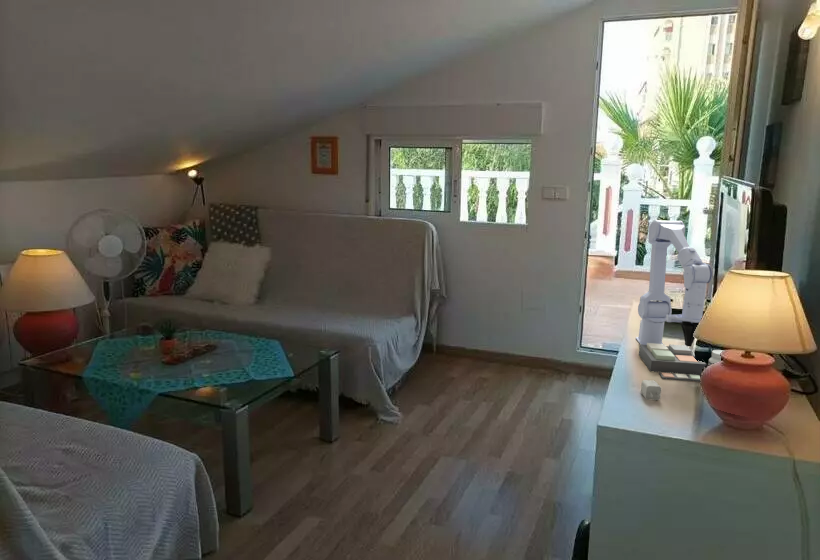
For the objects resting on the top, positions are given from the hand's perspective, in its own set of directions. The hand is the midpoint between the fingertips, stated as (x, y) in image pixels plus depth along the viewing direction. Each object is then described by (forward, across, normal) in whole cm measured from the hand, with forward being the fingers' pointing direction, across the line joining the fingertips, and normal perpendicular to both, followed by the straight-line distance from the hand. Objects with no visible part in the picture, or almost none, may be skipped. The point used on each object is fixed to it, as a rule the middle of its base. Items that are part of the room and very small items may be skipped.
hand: (688, 345), depth 191 cm
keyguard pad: (+8, -4, +3) cm, 9 cm away
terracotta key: (+7, 0, 0) cm, 7 cm away
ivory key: (+6, -7, +7) cm, 12 cm away
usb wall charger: (+8, -16, -26) cm, 32 cm away
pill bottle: (+8, +6, -12) cm, 15 cm away
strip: (+8, -4, -9) cm, 12 cm away
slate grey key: (+6, 0, +7) cm, 9 cm away
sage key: (+6, -7, 0) cm, 9 cm away
